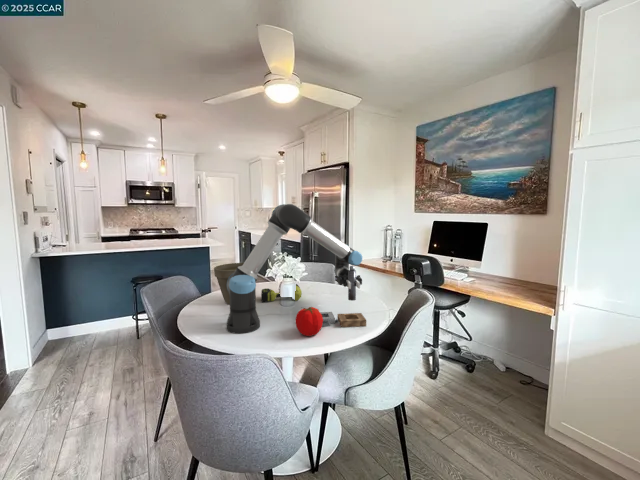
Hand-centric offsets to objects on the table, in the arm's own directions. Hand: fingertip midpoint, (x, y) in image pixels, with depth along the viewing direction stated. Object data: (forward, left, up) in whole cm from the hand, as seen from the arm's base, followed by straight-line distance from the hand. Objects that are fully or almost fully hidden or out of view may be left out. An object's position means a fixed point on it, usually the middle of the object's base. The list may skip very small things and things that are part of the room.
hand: (354, 285), depth 136 cm
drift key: (-15, +2, -20) cm, 25 cm away
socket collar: (-13, +10, -20) cm, 26 cm away
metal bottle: (0, +5, -8) cm, 10 cm away
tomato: (-21, -5, -20) cm, 29 cm away
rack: (0, +5, -20) cm, 20 cm away
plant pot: (-61, +47, -20) cm, 80 cm away
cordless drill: (-35, +56, -20) cm, 68 cm away
